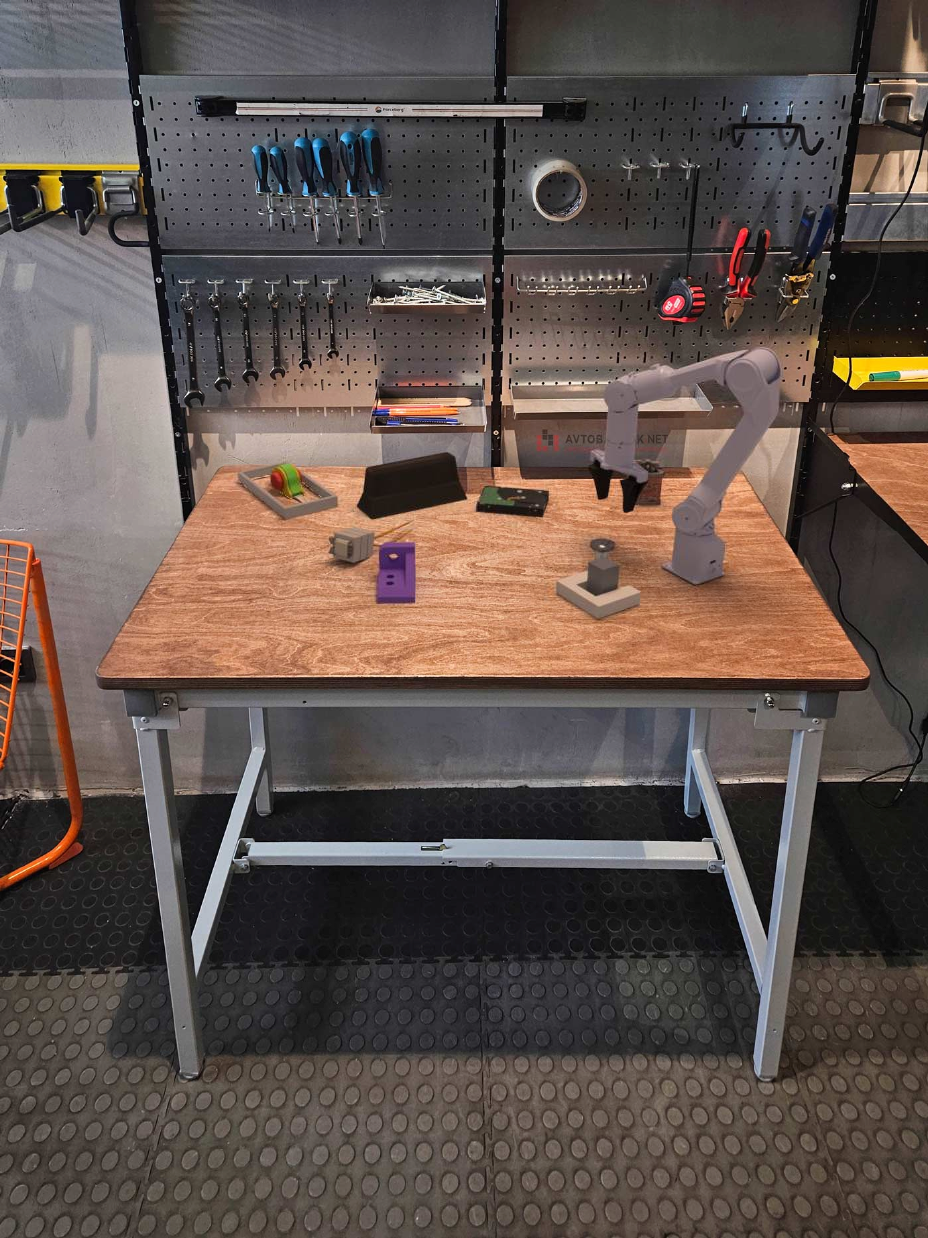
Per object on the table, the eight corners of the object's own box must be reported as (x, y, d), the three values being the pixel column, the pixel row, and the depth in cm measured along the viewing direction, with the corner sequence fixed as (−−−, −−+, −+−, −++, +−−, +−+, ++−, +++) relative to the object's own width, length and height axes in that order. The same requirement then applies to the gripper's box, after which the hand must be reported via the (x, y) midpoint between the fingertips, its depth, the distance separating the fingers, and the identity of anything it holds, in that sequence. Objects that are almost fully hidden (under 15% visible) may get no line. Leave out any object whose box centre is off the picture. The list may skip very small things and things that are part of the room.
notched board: (639, 604, 185) (641, 591, 184) (597, 618, 181) (598, 606, 179) (597, 578, 194) (598, 567, 193) (556, 592, 189) (556, 580, 188)
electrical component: (394, 535, 219) (396, 512, 217) (418, 541, 216) (420, 518, 215) (327, 557, 199) (328, 533, 197) (352, 564, 196) (354, 539, 195)
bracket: (380, 574, 196) (378, 542, 193) (415, 574, 196) (414, 542, 193) (377, 604, 186) (376, 571, 182) (415, 604, 186) (414, 570, 183)
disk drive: (548, 501, 228) (483, 495, 231) (549, 490, 227) (484, 484, 229) (543, 520, 220) (475, 513, 222) (543, 508, 218) (475, 502, 220)
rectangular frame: (338, 506, 224) (337, 496, 223) (285, 519, 218) (284, 508, 217) (288, 471, 242) (287, 461, 241) (238, 481, 236) (237, 471, 235)
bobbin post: (618, 573, 196) (620, 545, 193) (598, 579, 194) (601, 551, 191) (601, 563, 200) (604, 536, 197) (582, 570, 197) (584, 542, 194)
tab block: (616, 598, 187) (619, 564, 184) (600, 604, 185) (603, 570, 182) (602, 590, 190) (605, 556, 187) (586, 595, 188) (588, 561, 185)
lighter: (660, 500, 228) (664, 457, 223) (661, 506, 225) (665, 463, 220) (623, 498, 228) (627, 456, 223) (624, 504, 225) (628, 462, 220)
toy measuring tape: (286, 480, 237) (283, 454, 234) (331, 506, 224) (329, 478, 221) (261, 487, 234) (259, 460, 231) (306, 513, 221) (304, 485, 218)
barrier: (449, 487, 234) (449, 446, 230) (468, 500, 228) (468, 458, 223) (355, 507, 225) (353, 464, 220) (372, 521, 218) (370, 477, 213)
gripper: (580, 432, 198) (576, 497, 205) (630, 454, 187) (624, 522, 194) (607, 425, 201) (602, 489, 208) (658, 447, 191) (651, 513, 198)
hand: (615, 504), depth 201 cm, fingers open, 7 cm apart
